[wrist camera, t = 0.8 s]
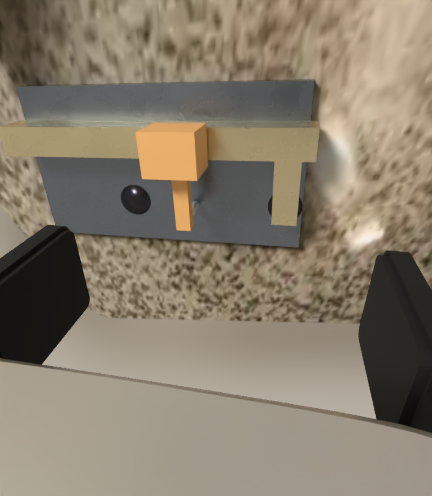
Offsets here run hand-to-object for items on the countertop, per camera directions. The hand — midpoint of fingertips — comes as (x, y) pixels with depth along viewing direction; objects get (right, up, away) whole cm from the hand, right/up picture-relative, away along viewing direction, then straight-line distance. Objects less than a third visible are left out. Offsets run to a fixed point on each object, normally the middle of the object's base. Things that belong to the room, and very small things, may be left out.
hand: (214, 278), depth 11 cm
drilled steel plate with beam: (-5, +8, +21) cm, 23 cm away
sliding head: (-2, +8, +19) cm, 21 cm away
